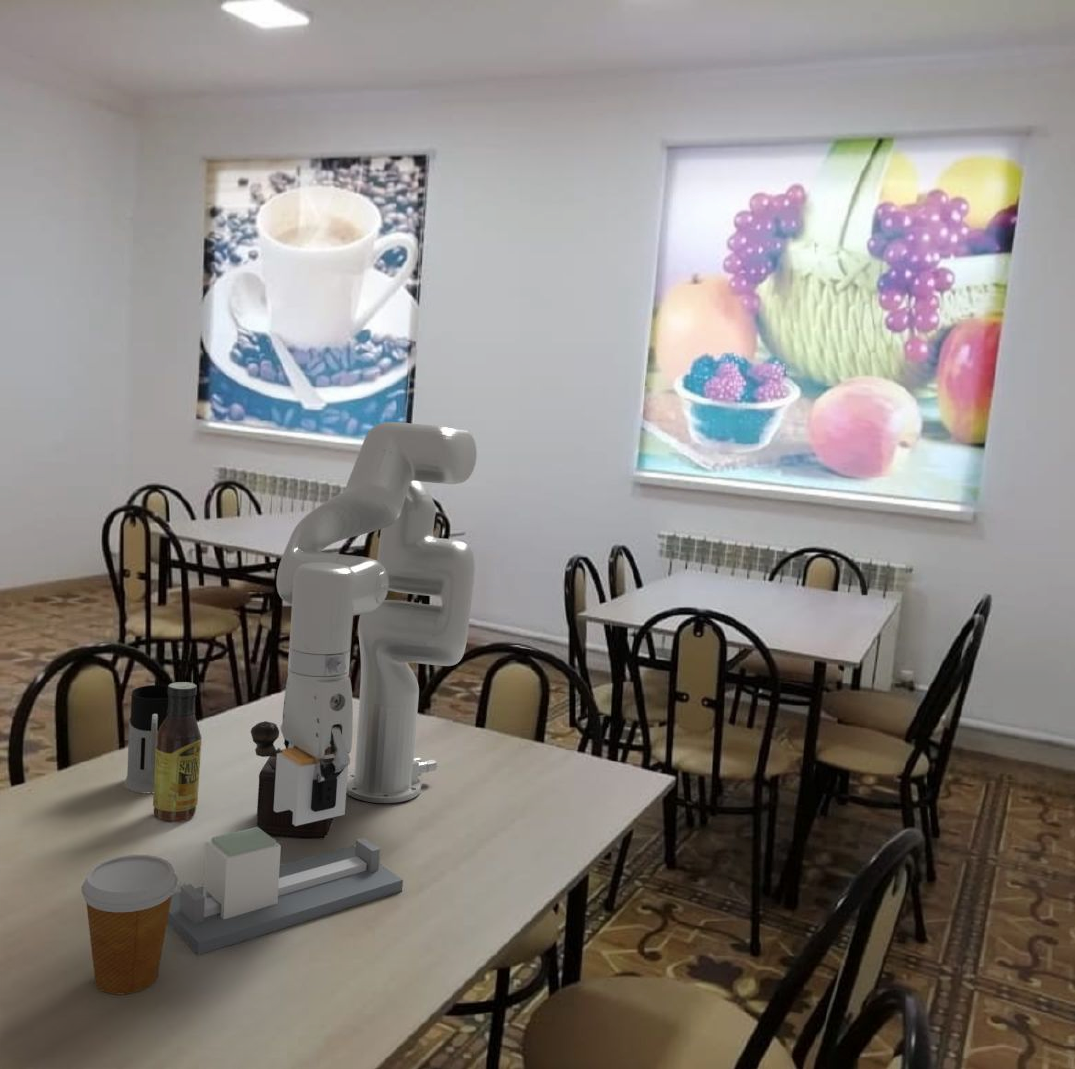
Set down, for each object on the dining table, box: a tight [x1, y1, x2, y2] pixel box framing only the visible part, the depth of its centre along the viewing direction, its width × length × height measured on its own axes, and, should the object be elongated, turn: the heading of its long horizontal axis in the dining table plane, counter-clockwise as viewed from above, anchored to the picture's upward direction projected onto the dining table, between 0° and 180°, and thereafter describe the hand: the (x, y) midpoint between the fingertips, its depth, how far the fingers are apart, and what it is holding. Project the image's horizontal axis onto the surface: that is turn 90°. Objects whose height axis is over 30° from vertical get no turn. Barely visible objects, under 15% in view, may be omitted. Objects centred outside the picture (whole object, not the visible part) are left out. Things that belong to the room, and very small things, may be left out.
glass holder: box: [123, 684, 169, 794], centre depth 158 cm, size 9×14×15 cm, turn 18°
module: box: [274, 747, 349, 826], centre depth 128 cm, size 7×6×8 cm
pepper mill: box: [250, 720, 335, 840], centre depth 147 cm, size 16×11×18 cm
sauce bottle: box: [152, 681, 202, 823], centre depth 149 cm, size 6×6×20 cm
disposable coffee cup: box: [81, 854, 179, 995], centre depth 108 cm, size 10×10×12 cm
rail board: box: [167, 826, 404, 956], centre depth 128 cm, size 28×12×10 cm, turn 132°
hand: (310, 799), depth 128 cm, fingers closed on module, 5 cm apart
